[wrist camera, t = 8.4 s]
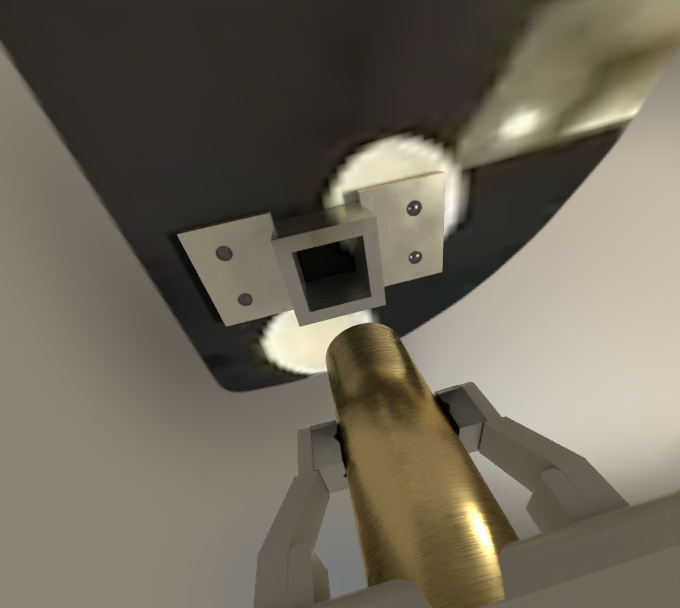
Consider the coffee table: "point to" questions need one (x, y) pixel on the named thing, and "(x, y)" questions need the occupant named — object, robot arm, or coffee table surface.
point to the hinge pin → (412, 477)
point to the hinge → (315, 230)
